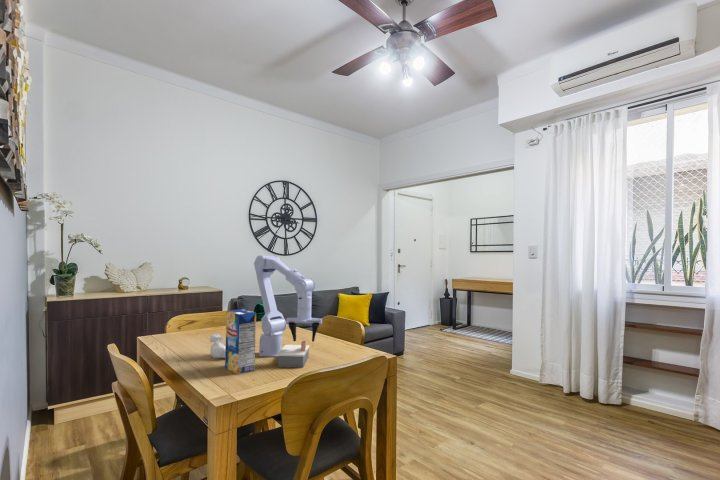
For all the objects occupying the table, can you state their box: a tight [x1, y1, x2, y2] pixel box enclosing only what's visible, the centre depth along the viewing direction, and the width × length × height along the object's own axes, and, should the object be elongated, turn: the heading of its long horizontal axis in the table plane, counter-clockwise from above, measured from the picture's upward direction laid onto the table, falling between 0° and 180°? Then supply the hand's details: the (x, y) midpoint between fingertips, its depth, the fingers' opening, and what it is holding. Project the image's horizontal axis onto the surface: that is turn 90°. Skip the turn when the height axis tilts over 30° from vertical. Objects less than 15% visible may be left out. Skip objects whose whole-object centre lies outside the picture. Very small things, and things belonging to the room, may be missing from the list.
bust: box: [209, 332, 226, 359], centre depth 153 cm, size 12×8×11 cm
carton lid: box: [277, 339, 310, 357], centre depth 149 cm, size 10×14×4 cm
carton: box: [277, 347, 310, 369], centre depth 149 cm, size 10×14×4 cm
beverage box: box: [224, 308, 257, 375], centre depth 139 cm, size 7×11×22 cm, turn 44°
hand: (303, 340), depth 149 cm, fingers open, 7 cm apart
